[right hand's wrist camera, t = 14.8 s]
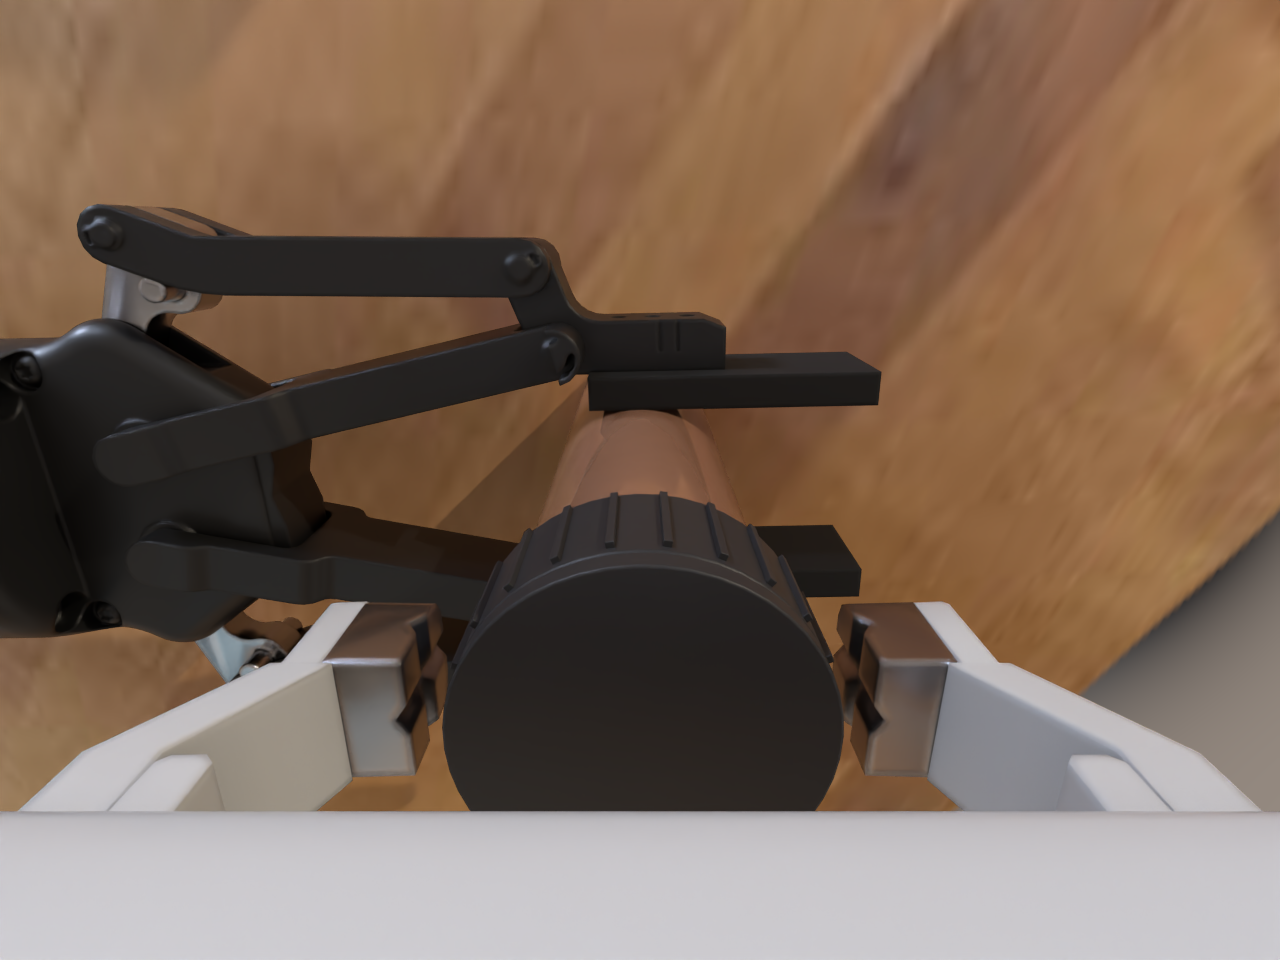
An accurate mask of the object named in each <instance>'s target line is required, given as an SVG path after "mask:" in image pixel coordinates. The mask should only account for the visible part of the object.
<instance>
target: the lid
mask: <svg viewBox="0 0 1280 960" xmlns="http://www.w3.org/2000/svg"><path fill="white" fill-rule="evenodd" d="M832 662H834V659H833V656H832V654H831V652H830V649H829V647H828V645H827V643H826V641H825V638H824V636H823V634H822V632H821V630H820V628H819V625H818V623H817V621H816V619H815V617H814V614H813V612H812V610H811V608H810V606H809V604H808V601H807V599H806V597H805V595H804V593H803V591H802V592H801V591H800V589H799V587H798V585H797V582H796V580H795V578H794V576H793V574H792V571H791V569H790V567H789V565H788V563H787V560H786V559H785V557H784V556H783V555H781V556H779V557H777V555H776V554H775V553H774V551H773V550H772V549H771V548H770V547H769V546H768V545H767V544H766V543H765V542H764V541H763V540H762V539H761V538H760V537H759V535H758V533H757V530H756V528H755V527H754V526H753V525H751V524H749V525H748V526H747V527H746V526H745V525H744V524H743V523H741V522H739V521H738V520H736V519H734V518H732V517H731V516H729V515H727V514H726V513H724V512H721V511H719V510H717V509H716V507H715V504H713V503H710V502H708V503H707V505H705V504H702V503H698V502H695V501H691V500H688V499H684V498H680V497H673V496H668V493H667V492H664V491H660V493H659V494H629V495H619V496H618V492H614V493H610V497H607V498H602V499H598V500H593V501H590V502H587V503H584V504H581V505H578V506H576V507H573V508H572V507H571V505H568V506H565V507H564V508H563V511H562V513H560V514H558V515H556V516H554V517H552V518H550V519H549V520H548V521H546V522H545V523H543V524H542V525H540V526H539V527H537V528H536V529H534V530H533V531H532V530H531V529H530V528H529V529H527V530H526V531H525V532H524V534H523V537H522V539H521V542H520V543H519V544H518V545H517V546H516V547H515V548H514V549H513V551H512V552H511V553H510V554H509V555H508V557H507V558H506V559H505V560H504V562H501V561H499V560H498V561H497V563H496V564H495V566H494V569H493V571H492V573H491V576H490V578H489V580H488V583H487V585H486V587H485V590H484V592H483V594H482V597H481V598H479V601H478V603H477V605H476V608H475V610H474V612H473V615H472V617H471V619H470V621H469V624H468V626H467V628H466V631H465V633H464V635H463V638H462V640H461V642H460V644H459V647H458V649H457V651H456V654H455V656H454V658H453V661H452V663H451V667H450V669H452V670H455V672H454V674H453V677H452V679H451V682H450V684H449V687H448V692H447V696H446V700H445V704H444V712H443V726H442V729H443V741H444V750H445V754H446V758H447V762H448V766H449V770H450V773H451V775H452V778H453V780H454V782H455V785H456V787H457V790H458V792H459V793H460V795H461V797H462V798H463V800H464V801H465V803H466V805H467V806H468V808H469V810H470V811H815V810H816V809H817V807H818V806H819V804H820V803H821V801H822V800H823V799H824V797H825V795H826V793H827V791H828V789H829V787H830V785H831V783H832V781H833V779H834V775H835V772H836V769H837V766H838V763H839V760H840V756H841V749H842V743H843V737H844V714H843V708H842V702H841V696H840V692H839V689H838V686H837V683H836V680H835V677H834V674H833V671H832V669H831V667H830V664H829V663H832Z"/></svg>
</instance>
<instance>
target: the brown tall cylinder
mask: <svg viewBox="0 0 1280 960" xmlns="http://www.w3.org/2000/svg"><path fill="white" fill-rule="evenodd" d="M660 491H664V492H667V493H668V496H673V497H680V498H684V499H688V500H691V501H695V502H698V503H702V504H705V505H707V503H708V502H710V503H713V504H715V507H716V509H717V510H719V511H721V512H724V513H726V514H727V515H729V516H731V517H732V518H734V519H736V520H738V521H739V522H741V523H743V524H744V525H745V526H746V524H745V521H744V518H743V515H742V513H741V510H740V507H739V505H738V502H737V499H736V496H735V494H734V491H733V488H732V486H731V483H730V480H729V477H728V475H727V472H726V469H725V467H724V464H723V461H722V458H721V456H720V453H719V450H718V448H717V445H716V442H715V439H714V437H713V434H712V431H711V429H710V426H709V423H708V420H707V418H706V415H705V412H704V410H703V409H670V410H622V411H589V398H588V382H587V384H586V386H585V388H584V391H583V394H582V397H581V400H580V403H579V406H578V409H577V411H576V414H575V417H574V420H573V423H572V426H571V429H570V432H569V435H568V437H567V440H566V443H565V446H564V449H563V452H562V455H561V458H560V461H559V464H558V466H557V469H556V472H555V475H554V478H553V481H552V484H551V487H550V490H549V492H548V495H547V498H546V501H545V504H544V507H543V510H542V513H541V516H540V518H539V521H538V524H537V527H539V526H540V525H542V524H543V523H545V522H546V521H548V520H549V519H550V518H552V517H554V516H556V515H558V514H560V513H562V511H563V508H564V507H565V506H568V505H571V507H572V508H573V507H576V506H578V505H581V504H584V503H587V502H590V501H593V500H598V499H602V498H607V497H610V493H614V492H618V496H619V495H629V494H659V493H660ZM537 527H536V528H537ZM746 527H747V526H746Z"/></svg>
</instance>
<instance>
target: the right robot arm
mask: <svg viewBox="0 0 1280 960" xmlns="http://www.w3.org/2000/svg"><path fill="white" fill-rule="evenodd" d="M442 632H443V623H442V616H441V610H440V609H439V607H438V605H437V604H436V603H385V602H371V603H369V602H337V603H332V604H331V605H330V606H329V607H328V608H327V609H326V610H325V611H324V613H323V614H322V615H321V616H320V617H319V619H318V620H317V621H316V622H315V623H314V625H313V626H312V627H311V628H310V629H309V630H308V632H307V633H306V634H305V635H304V636H303V638H302V639H301V640H300V641H299V642H298V643H297V645H296V646H295V647H294V648H293V649H292V651H291V652H290V653H289V654H288V655H287V656H286V658H285V659H284V660H283V661H282V662H281V663H269V664H267V665H265V666H263V667H260V668H258V669H256V670H254V671H252V672H250V673H248V674H246V675H244V676H241V677H239V678H237V679H235V680H233V681H231V682H229V683H227V684H224V685H222V686H220V687H218V688H216V689H214V690H212V691H210V692H207V693H205V694H203V695H201V696H199V697H197V698H195V699H193V700H191V701H188V702H186V703H184V704H182V705H180V706H178V707H176V708H174V709H171V710H169V711H167V712H165V713H163V714H161V715H159V716H157V717H154V718H152V719H150V720H148V721H146V722H144V723H142V724H140V725H138V726H135V727H133V728H131V729H129V730H127V731H125V732H123V733H121V734H118V735H116V736H114V737H112V738H110V739H108V740H106V741H104V742H101V743H99V744H97V745H95V746H93V747H91V748H89V749H87V750H85V751H82V752H81V753H80V754H79V755H78V756H77V757H76V758H75V759H73V760H72V761H71V762H70V763H69V764H68V765H67V766H66V767H65V768H64V769H63V770H62V771H60V772H59V773H58V774H57V775H56V776H55V777H54V778H53V779H52V780H51V781H50V782H49V783H47V784H46V785H45V786H44V787H43V788H42V789H41V790H40V791H39V792H38V793H37V794H36V795H35V796H33V797H32V798H31V799H30V800H29V801H28V802H27V803H26V804H25V805H24V806H23V807H22V808H20V809H19V810H18V811H0V960H1280V811H1262V810H1261V809H1260V808H1259V807H1258V806H1257V805H1255V804H1254V803H1253V802H1252V801H1251V800H1250V799H1249V798H1248V797H1247V796H1246V795H1245V794H1244V793H1243V792H1241V791H1240V790H1239V789H1238V788H1237V787H1236V786H1235V785H1234V784H1233V783H1232V782H1231V781H1230V780H1229V779H1227V778H1226V777H1225V776H1224V775H1223V774H1222V773H1221V772H1220V771H1219V770H1218V769H1217V768H1216V767H1215V766H1213V765H1212V764H1211V763H1210V762H1209V761H1208V760H1207V759H1206V758H1205V757H1204V756H1203V755H1202V754H1201V753H1199V752H1197V751H1195V750H1193V749H1191V748H1189V747H1186V746H1184V745H1182V744H1180V743H1178V742H1176V741H1174V740H1172V739H1170V738H1168V737H1165V736H1163V735H1161V734H1159V733H1157V732H1155V731H1153V730H1151V729H1148V728H1146V727H1144V726H1142V725H1140V724H1138V723H1136V722H1134V721H1132V720H1129V719H1127V718H1125V717H1123V716H1121V715H1119V714H1117V713H1115V712H1112V711H1110V710H1108V709H1106V708H1104V707H1102V706H1100V705H1098V704H1096V703H1094V702H1091V701H1089V700H1087V699H1085V698H1083V697H1081V696H1079V695H1077V694H1075V693H1072V692H1070V691H1068V690H1066V689H1064V688H1062V687H1060V686H1058V685H1056V684H1053V683H1051V682H1049V681H1047V680H1045V679H1043V678H1041V677H1039V676H1037V675H1034V674H1032V673H1030V672H1028V671H1026V670H1024V669H1022V668H1020V667H1017V666H1015V665H1013V664H1011V663H999V662H998V661H997V660H996V659H995V658H994V656H993V655H992V654H991V653H990V652H989V651H988V649H987V648H986V647H985V646H984V645H983V643H982V642H981V641H980V640H979V639H978V638H977V636H976V635H975V634H974V633H973V632H972V630H971V629H970V628H969V627H968V626H967V625H966V623H965V622H964V621H963V620H962V619H961V617H960V616H959V615H958V614H957V613H956V612H955V610H954V609H953V608H952V607H951V606H950V604H947V603H945V602H942V601H940V602H916V603H913V602H908V603H867V604H845V605H842V606H841V609H840V612H839V615H838V623H837V632H838V634H839V636H840V638H841V640H842V642H843V644H844V645H843V646H842V647H841V648H840V649H839V650H838V651H837V652H836V653H835V654H834V657H833V659H834V662H833V669H832V671H833V674H834V677H835V680H836V683H837V686H838V689H839V692H840V696H841V702H842V708H843V714H844V721H845V722H846V723H848V724H849V725H851V726H852V730H851V739H850V741H851V744H852V746H853V748H854V751H855V753H856V755H857V758H858V760H859V763H860V765H861V767H862V770H863V772H864V774H865V775H869V776H905V777H928V779H927V780H928V781H929V782H930V783H932V784H933V785H934V786H935V787H936V788H937V789H939V790H940V791H941V792H942V793H943V794H944V795H946V796H947V797H948V798H949V799H950V800H952V801H953V802H954V803H955V804H956V805H957V806H959V807H960V808H961V809H962V810H963V811H317V810H318V809H319V808H321V807H322V806H323V805H324V804H325V803H327V802H328V801H329V800H330V799H331V798H332V797H334V796H335V795H336V794H337V793H338V792H339V791H341V790H342V789H343V788H344V787H345V786H347V785H348V784H349V783H350V782H351V781H352V777H374V776H409V775H416V772H417V770H418V768H419V765H420V763H421V760H422V758H423V756H424V753H425V751H426V749H427V746H428V744H429V742H430V738H429V730H428V726H430V725H431V724H432V723H434V722H435V721H437V720H438V719H439V717H440V715H441V712H442V709H443V707H444V704H445V698H446V692H447V687H448V666H447V656H446V654H445V653H444V652H443V651H442V650H441V649H440V648H439V647H438V646H437V645H436V644H437V642H438V640H439V638H440V636H441V634H442Z"/></svg>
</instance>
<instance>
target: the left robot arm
mask: <svg viewBox="0 0 1280 960" xmlns="http://www.w3.org/2000/svg"><path fill="white" fill-rule="evenodd" d="M77 230H78V237H79V239H80V241H81V243H82V245H83V247H84V248H85V249H86V251H87V252H88V253H89V254H90V255H91V256H92V257H93V258H95V259H97V260H99V261H101V262H102V263H104V264H107V270H106V280H105V290H104V300H103V311H102V318H101V319H93V320H89V321H86V322H83V323H81V324H79V325H77V326H75V327H74V328H73V329H71V330H70V331H69V332H68V333H66V334H65V335H63V336H62V337H59V338H15V339H0V638H45V637H58V636H67V635H74V634H80V633H85V632H91V631H96V630H102V629H108V628H115V627H130V628H135V629H139V630H143V631H146V632H149V633H152V634H154V635H156V636H159V637H161V638H164V639H167V640H170V641H176V642H192V641H195V642H196V644H197V645H198V646H199V648H200V649H201V650H202V652H203V653H204V654H205V656H206V657H207V658H208V660H209V661H210V662H211V664H212V665H213V666H214V668H215V669H216V670H217V672H218V673H219V674H220V676H221V677H222V678H223V680H224V681H225V682H226V684H227V683H229V682H231V681H233V680H235V679H237V678H239V677H241V676H244V675H246V674H248V673H250V672H252V671H254V670H256V669H258V668H260V667H263V666H265V665H267V664H269V663H281V662H282V661H283V660H284V659H285V658H286V656H287V655H288V654H289V653H290V652H291V651H292V649H293V648H294V647H295V646H296V645H297V643H298V642H299V641H300V640H301V639H302V638H303V636H304V635H305V634H306V633H307V632H308V630H309V629H310V628H311V627H312V626H313V625H311V626H308V627H305V628H303V626H302V623H301V622H300V621H299V620H298V619H296V618H294V617H288V618H286V619H284V621H283V622H281V621H273V622H259V621H256V620H254V619H252V618H250V617H249V616H247V615H246V614H245V613H244V612H243V610H245V609H246V608H247V607H248V606H250V605H251V604H252V603H254V602H255V601H256V600H257V599H259V598H261V599H267V600H273V601H279V602H286V603H292V604H302V605H305V604H313V603H316V602H318V601H321V600H324V599H339V600H345V601H351V602H369V603H371V602H385V603H436V604H437V605H438V607H439V609H440V610H441V616H442V623H443V632H442V634H441V636H440V638H439V640H438V642H437V644H436V645H437V646H438V647H439V648H440V649H441V650H442V651H443V652H444V653H445V654H446V656H447V666H448V687H449V684H450V682H451V679H452V677H453V674H454V672H455V670H452V669H450V667H451V663H452V661H453V658H454V656H455V654H456V651H457V649H458V647H459V644H460V642H461V640H462V638H463V635H464V633H465V631H466V628H467V626H468V624H469V621H470V619H471V617H472V615H473V612H474V610H475V608H476V605H477V603H478V601H479V598H481V597H482V594H483V592H484V590H485V587H486V585H487V583H488V580H489V578H490V576H491V573H492V571H493V569H494V566H495V564H496V563H497V561H498V560H499V561H501V562H504V560H505V559H506V558H507V557H508V555H509V554H510V553H511V552H512V551H513V549H514V548H515V547H516V546H517V545H518V544H519V543H513V542H507V541H502V540H496V539H490V538H484V537H478V536H473V535H467V534H461V533H455V532H449V531H444V530H438V529H432V528H426V527H420V526H415V525H409V524H403V523H397V522H391V521H386V520H380V519H374V518H370V517H368V516H366V514H365V512H364V511H363V510H361V509H359V508H356V507H351V506H345V505H340V504H334V503H328V502H324V501H323V497H322V495H321V493H320V491H319V489H318V486H317V484H316V482H315V480H314V478H313V476H312V474H311V472H310V459H311V447H312V440H311V439H312V438H315V437H320V436H324V435H328V434H332V433H336V432H341V431H345V430H349V429H353V428H358V427H362V426H366V425H370V424H374V423H379V422H383V421H387V420H391V419H396V418H400V417H404V416H408V415H412V414H417V413H421V412H425V411H429V410H434V409H438V408H442V407H446V406H450V405H455V404H459V403H463V402H467V401H472V400H476V399H480V398H484V397H488V396H493V395H497V394H501V393H505V392H510V391H514V390H518V389H522V388H526V387H531V386H535V385H539V384H543V383H548V382H552V381H556V380H559V384H560V386H561V385H563V384H565V383H567V382H569V381H570V380H571V379H572V378H573V377H574V376H575V375H579V374H589V376H588V398H589V411H622V410H670V409H717V408H765V407H813V406H861V405H878V401H879V391H880V381H881V371H879V370H877V369H875V368H874V367H872V366H870V365H868V364H867V363H865V362H863V361H862V360H860V359H858V358H856V357H855V356H853V355H851V354H849V353H848V352H817V353H771V354H725V349H726V327H725V326H724V325H723V324H722V322H721V321H720V320H718V319H716V318H713V317H711V316H708V315H705V314H703V313H700V312H677V313H631V314H598V313H594V312H591V311H588V310H587V309H586V308H584V307H583V306H581V305H580V304H579V302H578V301H577V300H576V299H575V297H574V295H573V293H572V291H571V289H570V286H569V284H568V281H567V279H566V276H565V274H564V271H563V269H562V267H561V261H560V256H559V253H558V252H557V250H556V249H555V247H554V246H553V245H552V244H550V243H549V242H548V241H546V240H544V239H539V238H497V237H366V236H253V235H250V234H247V233H244V232H242V231H239V230H236V229H234V228H231V227H228V226H226V225H223V224H220V223H217V222H215V221H212V220H209V219H207V218H204V217H201V216H198V215H196V214H193V213H190V212H188V211H185V210H181V209H175V208H161V207H144V206H122V205H104V204H96V205H93V206H89V207H87V208H86V209H85V210H84V211H83V212H82V213H81V214H80V216H79V219H78V222H77ZM223 295H234V296H368V297H501V298H509V300H510V303H511V305H512V307H513V309H514V312H515V314H516V316H517V319H518V321H519V323H520V324H516V325H512V326H508V327H504V328H500V329H495V330H491V331H487V332H483V333H479V334H475V335H471V336H467V337H463V338H459V339H455V340H451V341H446V342H442V343H438V344H434V345H430V346H426V347H422V348H418V349H414V350H410V351H406V352H402V353H397V354H393V355H389V356H385V357H381V358H377V359H373V360H369V361H365V362H361V363H357V364H353V365H348V366H344V367H340V368H336V369H326V370H322V371H318V372H313V373H309V374H305V375H301V376H297V377H293V378H289V379H285V380H281V381H277V382H273V383H269V384H268V383H266V382H264V381H263V380H261V379H260V378H258V377H256V376H255V375H253V374H251V373H250V372H248V371H246V370H245V369H243V368H241V367H240V366H238V365H236V364H235V363H233V362H231V361H230V360H228V359H226V358H225V357H223V356H222V355H220V354H218V353H217V352H215V351H213V350H212V349H210V348H208V347H207V346H205V345H203V344H202V343H200V342H198V341H197V340H195V339H193V338H192V337H190V336H188V335H187V334H185V333H183V332H182V331H180V330H179V329H177V328H175V327H174V326H172V321H173V319H174V318H175V316H176V315H177V314H184V313H190V312H196V311H201V310H207V309H211V308H213V307H215V306H216V305H218V303H219V302H220V301H221V299H222V296H223ZM754 527H755V528H756V530H757V533H758V535H759V537H760V538H761V539H762V540H763V541H764V542H765V543H766V544H767V545H768V546H769V547H770V548H771V549H772V550H773V551H774V553H775V554H776V555H777V557H779V556H781V555H783V556H784V557H785V559H786V560H787V563H788V565H789V567H790V569H791V571H792V574H793V576H794V578H795V580H796V582H797V585H798V587H799V589H800V591H801V592H802V591H803V593H804V595H805V597H850V596H859V589H860V580H861V570H862V569H861V568H860V566H859V565H858V563H857V562H856V560H855V559H854V557H853V556H852V554H851V553H850V551H849V550H848V548H847V547H846V545H845V543H844V542H843V540H842V539H841V537H840V536H839V534H838V533H837V531H836V530H835V528H834V527H833V525H805V526H754ZM448 687H447V692H448ZM447 692H446V696H447ZM445 700H446V698H445Z"/></svg>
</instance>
